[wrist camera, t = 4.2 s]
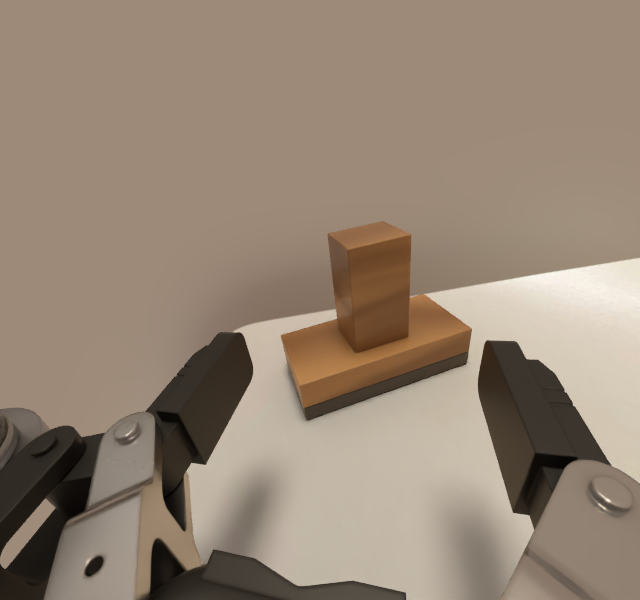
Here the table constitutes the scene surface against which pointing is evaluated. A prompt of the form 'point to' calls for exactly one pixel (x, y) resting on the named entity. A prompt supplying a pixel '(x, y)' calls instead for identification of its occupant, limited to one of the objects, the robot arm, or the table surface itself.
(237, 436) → the table surface
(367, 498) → the table surface
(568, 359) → the table surface
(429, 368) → the eraser
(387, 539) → the table surface
